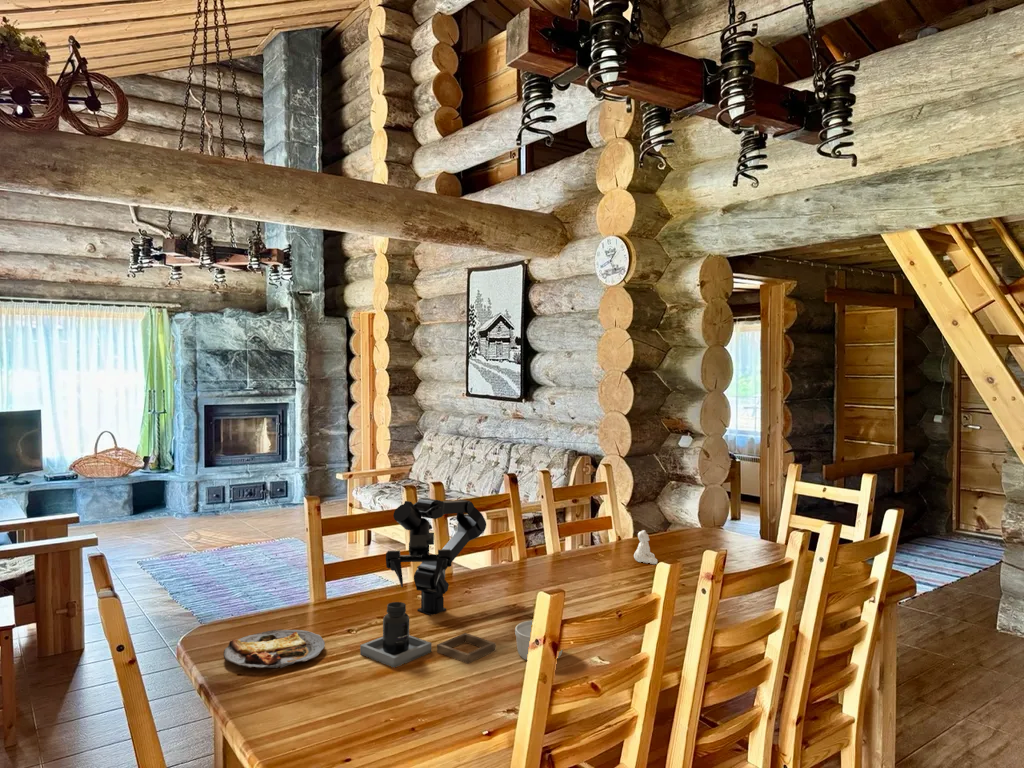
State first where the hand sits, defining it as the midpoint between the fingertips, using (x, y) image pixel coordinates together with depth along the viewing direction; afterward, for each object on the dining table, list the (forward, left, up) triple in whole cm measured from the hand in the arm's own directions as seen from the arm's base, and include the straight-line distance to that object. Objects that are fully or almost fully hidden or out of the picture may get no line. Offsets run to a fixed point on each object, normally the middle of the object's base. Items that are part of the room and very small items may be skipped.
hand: (418, 585), depth 206 cm
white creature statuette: (+12, +108, -14) cm, 110 cm away
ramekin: (+35, +10, -14) cm, 39 cm away
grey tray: (+6, -14, -13) cm, 20 cm away
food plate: (-18, -34, -14) cm, 41 cm away
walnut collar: (+19, -1, -13) cm, 23 cm away
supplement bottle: (+6, -14, -13) cm, 20 cm away
